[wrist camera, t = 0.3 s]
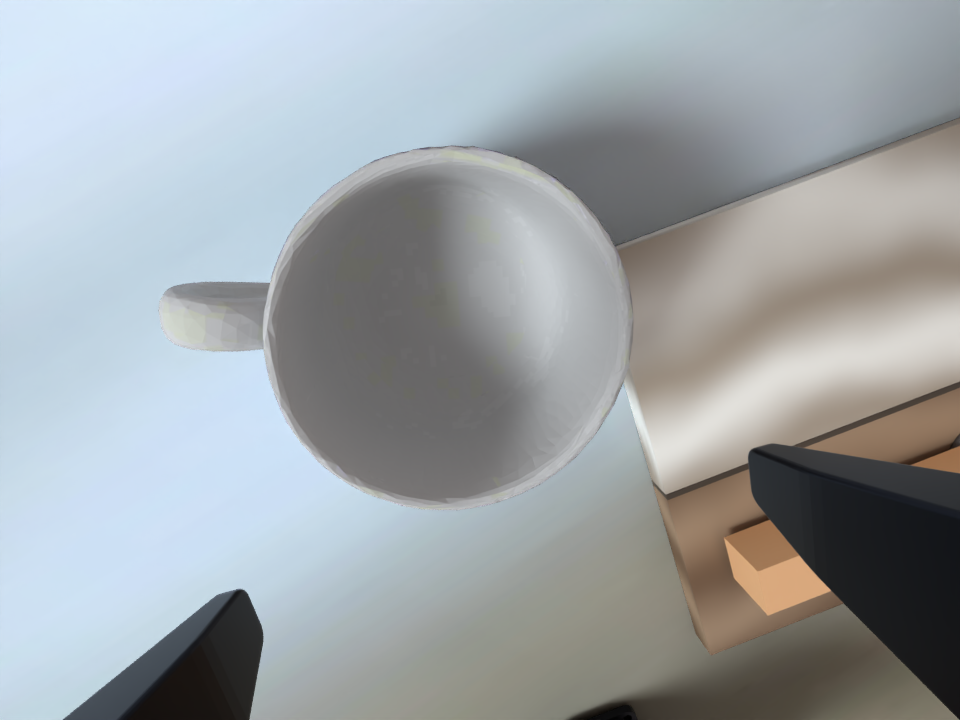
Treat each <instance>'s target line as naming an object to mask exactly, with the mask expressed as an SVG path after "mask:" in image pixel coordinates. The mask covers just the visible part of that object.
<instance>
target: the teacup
mask: <svg viewBox="0 0 960 720" xmlns="http://www.w3.org/2000/svg"><path fill="white" fill-rule="evenodd" d="M159 316H160V322H161V328H162V330H163V332H164V334H165V336H166V338H167V339H169V340H170V341H171V342H173V343H174V344H175V345H178V346H181V347H185V348H189V349H194V350H205V351H250V350H260V349H264V355H265V361H266V366H267V371H268V376H269V380H270V383H271V385H272V388H273V391H274V394H275V396H276V399H277V402H278V404H279V407H280V409H281V411H282V414H283V416H284V418H285V420H286V422H287V424H288V425H289V426H290V428H291V429H292V431H293V432H294V434H295V435H296V436H297V438H298V439H299V441H300V442H301V444H302V445H303V446H304V447H305V448H306V449H307V450H308V451H309V452H310V453H311V454H312V456H313V457H314V458H315V459H316V460H317V461H318V462H319V463H320V464H321V465H323V466H324V467H325V468H326V469H327V470H329V471H330V472H331V473H333V474H334V475H335V476H337V477H338V478H340V479H341V480H343V481H345V482H346V483H348V484H349V485H351V486H353V487H355V488H357V489H359V490H361V491H362V492H364V493H367V494H369V495H372V496H375V497H377V498H380V499H383V500H387V501H389V502H392V503H395V504H398V505H401V506H406V507H412V508H419V509H429V510H461V509H469V508H475V507H480V506H485V505H490V504H493V503H497V502H500V501H503V500H506V499H508V498H511V497H514V496H516V495H519V494H522V493H524V492H526V491H527V490H529V489H531V488H534V487H536V486H538V485H540V484H541V483H543V482H544V481H546V480H547V479H549V478H550V477H552V476H553V475H555V474H556V473H557V472H558V471H560V470H561V469H562V468H563V467H565V466H566V465H567V464H569V463H570V462H571V461H572V460H573V459H574V458H575V457H576V456H577V455H578V454H579V453H580V452H581V451H582V450H583V448H584V447H585V446H586V445H587V444H588V442H589V441H590V440H591V439H592V438H593V437H594V436H595V434H596V433H597V431H598V430H599V428H600V427H601V425H602V423H603V422H604V420H605V419H606V417H607V415H608V414H609V412H610V411H611V409H612V407H613V406H614V404H615V401H616V399H617V396H618V394H619V392H620V389H621V387H622V384H623V382H624V379H625V376H626V374H627V371H628V368H629V365H630V361H629V360H630V354H631V348H632V342H633V306H632V298H631V291H630V285H629V281H628V278H627V275H626V272H625V269H624V266H623V263H622V261H621V259H620V257H619V254H618V251H617V249H616V247H615V246H614V244H613V243H612V241H611V238H610V235H609V234H608V233H607V232H606V231H605V230H604V228H603V227H602V225H601V223H600V222H599V220H598V218H597V217H596V216H595V214H594V213H593V212H592V211H591V210H590V208H589V207H588V206H587V205H586V204H585V203H584V202H583V201H582V200H581V199H580V198H579V197H578V196H576V195H575V194H574V193H573V192H572V191H571V190H570V189H569V188H568V187H566V186H565V185H563V184H562V183H561V182H560V181H559V180H558V179H556V178H555V177H554V176H552V175H550V174H548V173H546V172H544V171H542V170H540V169H539V168H537V167H536V166H534V165H531V164H529V163H527V162H525V161H523V160H521V159H519V158H517V157H509V156H507V155H505V154H502V153H500V152H497V151H492V150H487V149H482V148H478V147H474V146H470V147H462V146H445V147H426V148H420V149H413V150H411V151H407V152H401V153H397V154H393V155H390V156H386V157H383V158H381V159H378V160H375V161H373V162H371V163H369V164H367V165H365V166H364V167H362V168H360V169H359V170H357V171H355V172H354V173H352V174H351V175H349V176H348V177H346V178H345V179H343V180H342V181H340V182H339V183H337V184H335V185H334V186H332V187H331V188H330V189H329V190H328V191H326V192H325V193H324V194H323V195H322V196H321V197H320V198H319V199H318V200H317V201H316V202H315V203H314V204H313V205H312V206H311V207H310V208H309V209H308V211H307V212H306V214H305V215H304V216H303V217H302V218H301V219H300V220H299V221H298V223H297V224H296V225H295V226H294V228H293V230H292V231H291V233H290V235H289V236H288V238H287V240H286V242H285V244H284V246H283V248H282V250H281V252H280V254H279V257H278V259H277V262H276V265H275V267H274V270H273V273H272V278H271V282H270V283H252V282H200V283H188V284H182V285H177V286H173V287H171V288H170V289H168V290H167V291H166V292H165V293H164V294H163V296H162V298H161V300H160V304H159Z"/></svg>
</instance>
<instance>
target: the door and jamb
mask: <svg viewBox="0 0 960 720" xmlns="http://www.w3.org/2000/svg"><path fill="white" fill-rule="evenodd" d="M615 247H616V249H617V251H618V254H619V257H620V259H621V261H622V263H623V266H624V269H625V272H626V275H627V278H628V281H629V285H630V291H631V298H632V306H633V342H632V348H631V354H630V360H629V361H630V365H629V368H628V371H627V374H626V376H625V379H624V385H625V389H626V392H627V396H628V399H629V403H630V406H631V410H632V413H633V416H634V420H635V423H636V427H637V430H638V434H639V437H640V441H641V444H642V448H643V451H644V455H645V458H646V462H647V465H648V469H649V472H650V476H651V479H652V483H653V486H654V490H655V493H656V497H657V500H658V503H659V507H660V510H661V514H662V517H663V521H664V524H665V528H666V531H667V535H668V538H669V542H670V545H671V549H672V552H673V556H674V559H675V563H676V566H677V570H678V573H679V577H680V580H681V584H682V587H683V590H684V594H685V597H686V601H687V604H688V608H689V611H690V615H691V618H692V622H693V625H694V629H695V632H696V634H697V636H698V637H699V639H700V640H701V642H702V643H703V645H704V646H705V648H706V649H707V650H708V652H709V653H710V655H713V654H716V653H718V652H721V651H723V650H726V649H729V648H731V647H734V646H736V645H739V644H741V643H744V642H746V641H749V640H752V639H754V638H757V637H759V636H762V635H764V634H767V633H769V632H772V631H774V630H777V629H780V628H782V627H785V626H787V625H790V624H792V623H795V622H797V621H800V620H802V619H805V618H808V617H810V616H813V615H815V614H818V613H820V612H823V611H825V610H828V609H830V608H833V607H836V606H838V605H841V604H843V602H842V601H841V600H840V599H839V598H838V597H837V596H836V595H835V594H834V593H833V592H832V591H830V592H827V593H825V594H822V595H820V596H817V597H814V598H812V599H809V600H807V601H804V602H802V603H799V604H797V605H794V606H791V607H789V608H786V609H784V610H781V611H779V612H776V613H774V614H771V615H767V614H766V613H765V612H764V611H763V610H762V609H761V607H760V606H759V605H758V604H757V603H756V602H755V601H754V600H753V599H752V597H751V596H750V595H749V594H748V593H747V592H746V591H745V590H744V589H743V588H742V586H741V585H740V584H739V583H738V582H737V581H736V580H735V579H734V576H733V572H732V568H731V564H730V560H729V556H728V552H727V548H726V544H725V540H724V537H727V536H729V535H732V534H734V533H737V532H739V531H742V530H745V529H747V528H750V527H752V526H755V525H758V524H760V523H763V522H765V521H768V520H770V519H769V518H768V517H767V516H766V514H765V513H764V512H763V511H762V510H761V508H760V507H759V506H758V504H757V503H756V501H755V500H754V498H753V495H752V492H751V485H750V475H749V465H748V453H749V451H750V450H751V449H752V448H755V447H759V446H762V445H766V444H771V443H776V444H782V445H788V446H794V447H800V448H807V449H813V450H819V451H825V452H831V453H837V454H844V455H850V456H856V457H862V458H868V459H875V460H881V461H887V462H893V463H899V464H905V465H912V464H915V463H917V462H920V461H923V460H925V459H928V458H930V457H933V456H935V455H938V454H941V453H943V452H946V451H948V450H951V449H953V448H956V447H959V446H960V118H957V119H955V120H952V121H949V122H947V123H944V124H941V125H939V126H936V127H933V128H931V129H928V130H925V131H923V132H920V133H917V134H915V135H912V136H909V137H907V138H904V139H901V140H898V141H896V142H893V143H890V144H888V145H885V146H882V147H880V148H877V149H874V150H872V151H869V152H866V153H864V154H861V155H858V156H856V157H853V158H850V159H848V160H845V161H842V162H840V163H837V164H834V165H832V166H829V167H826V168H824V169H821V170H818V171H816V172H813V173H810V174H808V175H805V176H802V177H800V178H797V179H794V180H792V181H789V182H786V183H784V184H781V185H778V186H776V187H773V188H770V189H768V190H765V191H762V192H760V193H757V194H754V195H751V196H749V197H746V198H743V199H741V200H738V201H735V202H733V203H730V204H727V205H725V206H722V207H719V208H717V209H714V210H711V211H709V212H706V213H703V214H701V215H698V216H695V217H693V218H690V219H687V220H685V221H682V222H679V223H677V224H674V225H671V226H669V227H666V228H663V229H661V230H658V231H655V232H653V233H650V234H647V235H645V236H642V237H639V238H637V239H634V240H631V241H629V242H626V243H623V244H621V245H618V246H615Z"/></svg>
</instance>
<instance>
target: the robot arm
mask: <svg viewBox="0 0 960 720" xmlns="http://www.w3.org/2000/svg"><path fill="white" fill-rule="evenodd" d="M748 465H749V475H750V485H751V492H752V495H753V498H754V500H755V501H756V503H757V504H758V506H759V507H760V508H761V510H762V511H763V512H764V513H765V514H766V516H767V517H768V518H769V519H770V520H771V522H772V523H773V524H774V525H775V527H776V528H777V529H778V530H779V531H780V533H781V534H782V535H783V536H784V537H785V539H786V540H787V541H788V542H789V544H790V545H791V546H792V547H793V548H794V550H795V551H796V552H797V553H798V554H799V556H800V557H801V558H802V559H803V561H804V562H805V563H806V564H807V565H808V566H809V568H810V569H811V570H812V571H813V572H814V573H815V574H816V575H817V577H818V578H819V579H820V580H821V581H822V582H823V583H824V584H825V585H826V586H827V587H828V588H829V589H830V590H831V591H832V592H833V593H834V594H835V595H836V596H837V597H838V598H839V599H840V600H841V601H842V602H843V603H844V604H845V605H846V606H847V607H848V608H849V609H850V610H851V611H852V612H853V613H854V614H855V615H856V616H857V617H858V618H859V619H860V620H861V621H862V622H863V623H864V624H865V625H866V626H867V627H868V628H869V629H870V630H871V631H872V632H873V633H874V634H875V635H876V636H877V637H878V638H879V639H880V640H881V641H882V642H883V643H884V644H885V645H886V646H887V647H888V648H889V649H890V650H891V651H892V652H893V653H894V654H895V655H896V656H897V657H898V658H899V659H900V660H901V661H902V662H903V663H904V664H905V665H906V666H907V667H908V668H909V669H910V670H911V671H912V672H913V673H914V674H915V675H916V676H917V677H918V678H919V679H920V681H921V682H922V683H923V684H924V685H925V686H926V687H927V688H928V689H929V690H930V691H931V692H932V693H933V694H934V695H935V696H936V697H937V698H938V699H939V700H940V701H941V702H942V703H943V704H944V705H945V706H946V707H947V708H948V709H949V710H950V711H951V712H952V713H953V714H954V715H955V716H956V717H957V718H958V719H959V720H960V473H955V472H949V471H942V470H936V469H930V468H924V467H918V466H912V465H905V464H899V463H893V462H887V461H881V460H875V459H868V458H862V457H856V456H850V455H844V454H837V453H831V452H825V451H819V450H813V449H807V448H800V447H794V446H788V445H782V444H776V443H771V444H766V445H762V446H759V447H755V448H752V449H751V450H750V451H749V453H748ZM262 646H263V630H262V626H261V624H260V621H259V619H258V616H257V614H256V612H255V609H254V607H253V605H252V602H251V600H250V598H249V596H248V594H247V592H246V591H245V590H242V589H236V590H233V591H229V592H225V593H222V594H219V595H217V596H215V597H214V598H213V599H211V600H210V601H209V602H208V603H206V604H205V605H204V606H203V607H202V608H200V609H199V610H198V611H197V612H195V613H194V614H193V615H192V616H190V617H189V618H188V619H187V620H185V621H184V622H183V623H182V624H180V625H179V626H178V627H177V628H176V629H174V630H173V631H172V632H171V633H169V634H168V635H167V636H166V637H164V638H163V639H162V640H161V641H159V642H158V643H157V644H156V645H155V646H153V647H152V648H151V649H150V650H148V651H147V652H146V653H145V654H143V655H142V656H141V657H140V658H138V659H137V660H136V661H135V662H134V663H132V664H131V665H130V666H129V667H127V668H126V669H125V670H124V671H122V672H121V673H120V674H119V675H117V676H116V677H115V678H114V679H112V680H111V681H110V682H109V683H108V684H106V685H105V686H104V687H103V688H101V689H100V690H99V691H98V692H96V693H95V694H94V695H93V696H91V697H90V698H89V699H88V700H87V701H85V702H84V703H83V704H82V705H80V706H79V707H78V708H77V709H75V710H74V711H73V712H72V713H70V714H69V715H68V716H67V717H65V718H64V719H63V720H249V719H250V713H251V707H252V702H253V696H254V691H255V685H256V680H257V674H258V669H259V663H260V657H261V652H262ZM588 720H637V717H636V715H635V712H634V710H633V708H632V707H631V706H629V705H625V706H621V707H619V708H616V709H614V710H611V711H609V712H606V713H604V714H601V715H598V716H596V717H593V718H591V719H588Z"/></svg>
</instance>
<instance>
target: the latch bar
mask: <svg viewBox="0 0 960 720" xmlns="http://www.w3.org/2000/svg"><path fill="white" fill-rule="evenodd" d="M912 466H918V467H924V468H930V469H936V470H942V471H949V472H955V473H960V446H959V447H956V448H953V449H951V450H948V451H946V452H943V453H941V454H938V455H935V456H933V457H930V458H928V459H925V460H923V461H920V462H917V463H915V464H912ZM724 540H725V544H726V548H727V552H728V556H729V560H730V564H731V568H732V572H733V576H734V579H735V580H736V581H737V582H738V583H739V584H740V585H741V586H742V588H743V589H744V590H745V591H746V592H747V593H748V594H749V595H750V596H751V597H752V599H753V600H754V601H755V602H756V603H757V604H758V605H759V606H760V607H761V609H762V610H763V611H764V612H765V613H766V614H767V615H771V614H774V613H776V612H779V611H781V610H784V609H786V608H789V607H791V606H794V605H797V604H799V603H802V602H804V601H807V600H809V599H812V598H814V597H817V596H820V595H822V594H825V593H827V592H830V591H831V590H830V589H829V588H828V587H827V586H826V585H825V584H824V583H823V582H822V581H821V580H820V579H819V578H818V577H817V575H816V574H815V573H814V572H813V571H812V570H811V569H810V568H809V566H808V565H807V564H806V563H805V562H804V561H803V559H802V558H801V557H800V556H799V554H798V553H797V552H796V551H795V550H794V548H793V547H792V546H791V545H790V544H789V542H788V541H787V540H786V539H785V537H784V536H783V535H782V534H781V533H780V531H779V530H778V529H777V528H776V527H775V525H774V524H773V523H772V522H771V520H768V521H765V522H763V523H760V524H758V525H755V526H752V527H750V528H747V529H745V530H742V531H739V532H737V533H734V534H732V535H729V536H727V537H724Z"/></svg>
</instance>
